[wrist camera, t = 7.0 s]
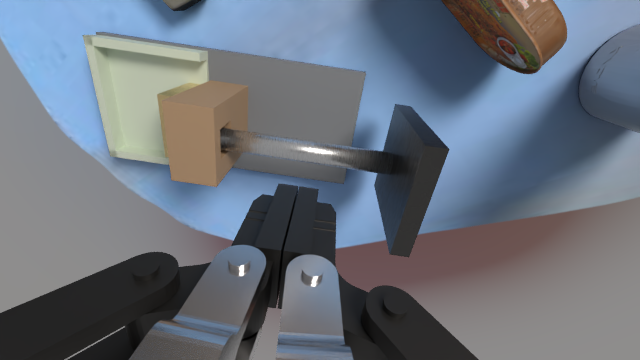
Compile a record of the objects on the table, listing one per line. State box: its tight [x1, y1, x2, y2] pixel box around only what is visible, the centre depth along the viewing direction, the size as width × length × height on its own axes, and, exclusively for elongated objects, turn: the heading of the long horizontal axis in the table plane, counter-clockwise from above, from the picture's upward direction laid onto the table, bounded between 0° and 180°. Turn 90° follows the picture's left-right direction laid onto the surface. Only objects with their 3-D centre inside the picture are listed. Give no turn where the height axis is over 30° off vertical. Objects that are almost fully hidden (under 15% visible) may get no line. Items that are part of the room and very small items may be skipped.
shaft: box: [220, 104, 449, 257], centre depth 25 cm, size 19×9×11 cm, turn 82°
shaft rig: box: [83, 32, 366, 187], centre depth 28 cm, size 28×13×11 cm, turn 82°
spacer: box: [157, 83, 200, 157], centre depth 29 cm, size 2×6×6 cm, turn 172°
